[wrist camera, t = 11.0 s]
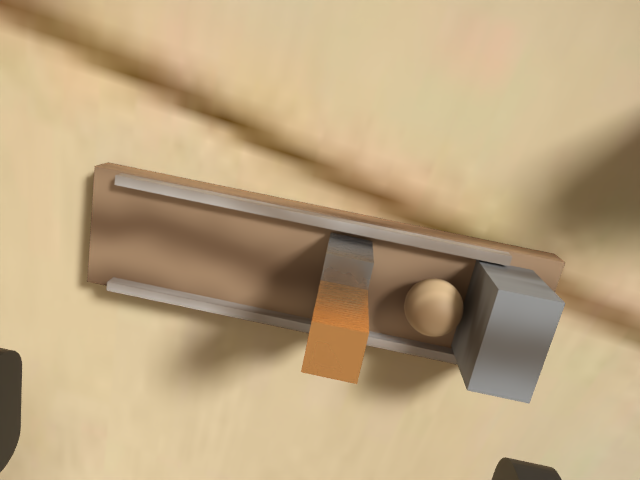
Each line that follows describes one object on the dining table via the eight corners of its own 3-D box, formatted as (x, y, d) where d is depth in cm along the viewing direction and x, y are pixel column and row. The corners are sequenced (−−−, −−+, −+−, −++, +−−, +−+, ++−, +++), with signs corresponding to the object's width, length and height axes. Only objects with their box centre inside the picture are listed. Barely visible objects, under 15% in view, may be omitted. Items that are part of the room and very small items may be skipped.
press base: (108, 162, 38) (44, 179, 31) (554, 254, 37) (604, 294, 30) (100, 272, 41) (39, 313, 33) (518, 360, 40) (555, 423, 32)
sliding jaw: (330, 232, 36) (318, 288, 25) (372, 240, 36) (377, 301, 25) (313, 316, 38) (295, 401, 27) (353, 324, 38) (350, 412, 27)
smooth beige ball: (409, 265, 36) (414, 285, 33) (464, 276, 36) (476, 297, 33) (396, 315, 38) (400, 340, 34) (449, 326, 38) (459, 352, 34)
